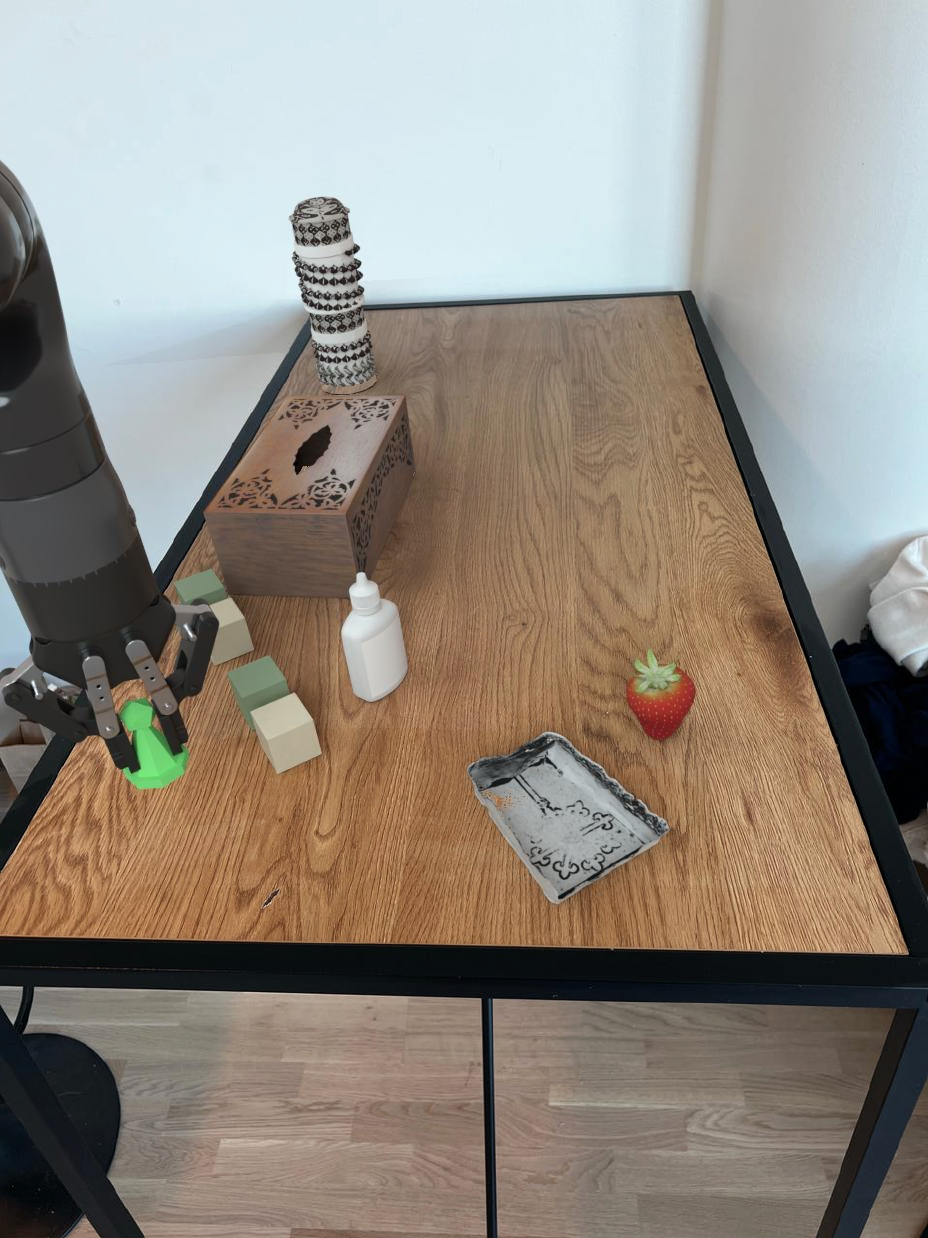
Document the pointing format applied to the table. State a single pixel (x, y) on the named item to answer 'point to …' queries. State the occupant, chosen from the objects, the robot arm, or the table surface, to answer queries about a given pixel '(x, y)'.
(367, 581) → the eye dropper bottle
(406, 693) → the table surface
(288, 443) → the tissue box cover
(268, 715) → the block near
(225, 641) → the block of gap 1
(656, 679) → the fruit
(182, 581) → the block far
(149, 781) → the game piece
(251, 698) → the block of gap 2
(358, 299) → the black white cylinder
